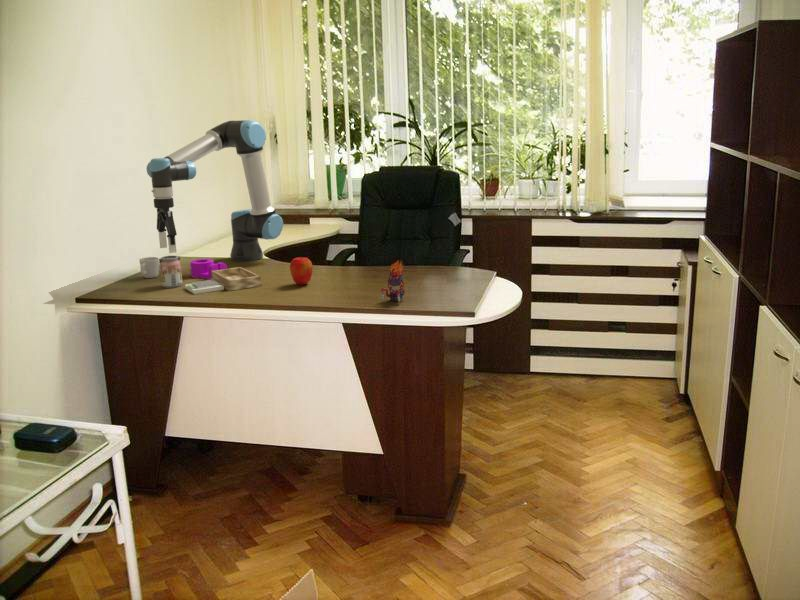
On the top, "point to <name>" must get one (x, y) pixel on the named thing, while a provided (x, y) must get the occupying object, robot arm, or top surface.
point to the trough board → (236, 278)
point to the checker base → (203, 290)
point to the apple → (301, 270)
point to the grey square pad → (203, 284)
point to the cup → (149, 267)
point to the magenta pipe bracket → (205, 268)
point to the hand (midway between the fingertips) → (168, 250)
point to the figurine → (395, 283)
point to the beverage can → (170, 271)
